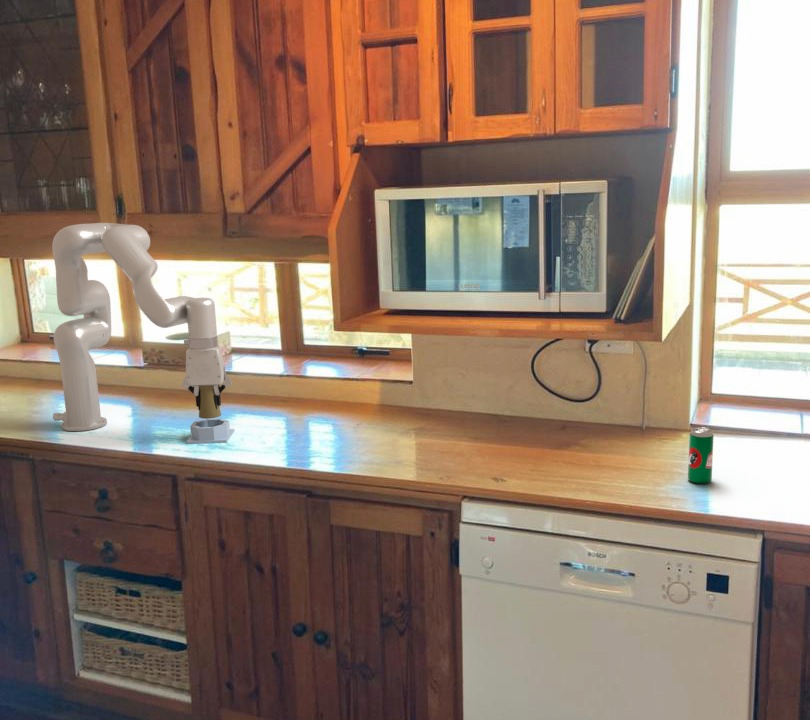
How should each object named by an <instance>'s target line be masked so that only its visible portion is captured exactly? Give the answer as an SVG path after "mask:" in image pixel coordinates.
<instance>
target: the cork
mask: <svg viewBox="0 0 810 720" xmlns="http://www.w3.org/2000/svg"><path fill="white" fill-rule="evenodd" d="M199 389H200V410H198V418H200V419H202V420H204V419H217V418H219V417H221V415H222V413H221V408H220V406H218V405H217V409H216V407H215V403H214V395H215V391H214V385H209V386H208V385H203V386H199Z"/></svg>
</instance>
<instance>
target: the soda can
mask: <svg viewBox="0 0 810 720" xmlns="http://www.w3.org/2000/svg"><path fill="white" fill-rule="evenodd" d="M688 437H689V439H688V463H687V465H688V466H687V479H688V481H689V482H690V483H693V484H696V485H706V484H710V483H711V481H712V480H713V478H712V476H713V457H714V456H713V454H714V453H713V452H714V433H713V430H712V429H710V428H709V427H702V426H701V427H699V426H697V427H693V428H691V431H690V432H689V436H688Z"/></svg>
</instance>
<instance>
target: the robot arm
mask: <svg viewBox="0 0 810 720" xmlns="http://www.w3.org/2000/svg"><path fill="white" fill-rule="evenodd" d="M51 246H52V248H51V249H52V256H53V257H52V258H53V260H54V266H55V284H56V299H57V308H58V310H59V311H60V313H61V314H62V315H64V316H66V317H76V316H81V315H83V317H81V318H76V319H71V320H67V321H65V322H63V323H61V324H59V325H58V326H57V328H56V329H55V330H54V332H53V342H54V346H55V349H56V353H57V356H58V360H59V365H60V373H61V374H60V375H61V379H62V380H61V382H62V390H63V398H64V405H65V407H64V408H65V411H64V412H62V413H61V412H53V414H52V418H53V420H54V421H62V423H61V429H62V430H63V431H69V432H82V431H90V430H91V431H92V430H95V429H99V428H102V427H104V426H106V425H107V424H108V420H107V418H106V417H103V416H101V415H102V414H101V407H100V395H99V386H98V376H97V369H96V363H95V361H94V359H93V357H92V355H91V354H90V352H89V351H90V350H94V349H97V348H100V347H104V346H105V345H107V344H108V342H109V341H110V339H111V336H112V312H111V311H112V310H111V296H110V292H109V291H108V288H107V287H106V286H105V285H104V283H102V282H101V281H99V280H96V279H89V278H88V275H89V273H88V267H87V264H86V262H85V259H84V258H83V255H89V254H91V255H92V254H99V253H100V254H101V253H107V254H108V255H109V257H110V258H111V260H113V262H114V263H115V264H116V265H117V266H118V267H119V268H120V270H121V271H122V272H123V273H124V275H125V276H127V278H128V279H129V280H130V282H131V284H132V292H133V296H134V300H135V302H136V305H137V307H138V308H139V309H140V311H141V312H143V314H144V316H146V318H147V319H149V321H150V322H151V323H152V324H154V325H155V326H157V327H159V328H161V329H166V328H172V327H176V326H180V325H183V324H187V329H188V338H187V339H184V340H183V345H185V346H188V349H186V354H185V355H186V356H185V377H184V379H183V380H182V383H181V386H182V387H183V388H185V389H186V390H187V389H188V391H190V392H191V393H192V394H193V396H195V406H196V407H197V408H198V409H197V410H198V411H199V410H200V389H199V386H203V385H208V386H209V385H214V391H215V395H214V403H215V407H216V409H217V405H218V406H219V407H220V406H221V405H222V402H221V401H222V399H221V393H222V392H223V391H224V390H225V389H226V388H228V387H230V385H232V383H233V381H232V379H231V378H230V376H229V375H228V374H227V373H226V366H225V362H224V355H223V351H222V348H221V347H220V346H219V344H218V329H217V318H216V307H215V301H214V299H212V298H210V297H191V296H185V295H181V296H175V297H169V298H165V299H164V298H163V296H162V295H161V294H160V293H159V292H158V291H157V289H156V288H155V287H154V284H153V282H152V278H153V276H154V275H155V274H156V272H157V271H158V263H157V261H156V260H155V259H154V258H153V257H152V256H151V254H150V253H148V250H149V249H150V246H151V238H150V235H149V233H148V232H147V230H146V229H145V228H143V227H142V226H140V225H137V224H128V223H127V224H126V223H115V222H114V223H113V222H94V223H79V224H77V223H76V224H72V225H68V226H65V227H62V228H61V229H60V230H58V231H57V233H55V235H54V237H53V239H52V245H51Z"/></svg>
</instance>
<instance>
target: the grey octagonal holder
mask: <svg viewBox="0 0 810 720" xmlns="http://www.w3.org/2000/svg"><path fill="white" fill-rule="evenodd" d="M234 432H235V428H230V420H228V419H224V418H219V417H216V418H210V419H201V420H196V421H193V422H192V424H190V437H188V438H187V440H186V441H185V442H186V444H188V445H189V444H213V443H214V444H215V443H216V444H217V443H221V444H222V443H228V442H229V440H230V438H231V437H232V436H233V434H234Z"/></svg>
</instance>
